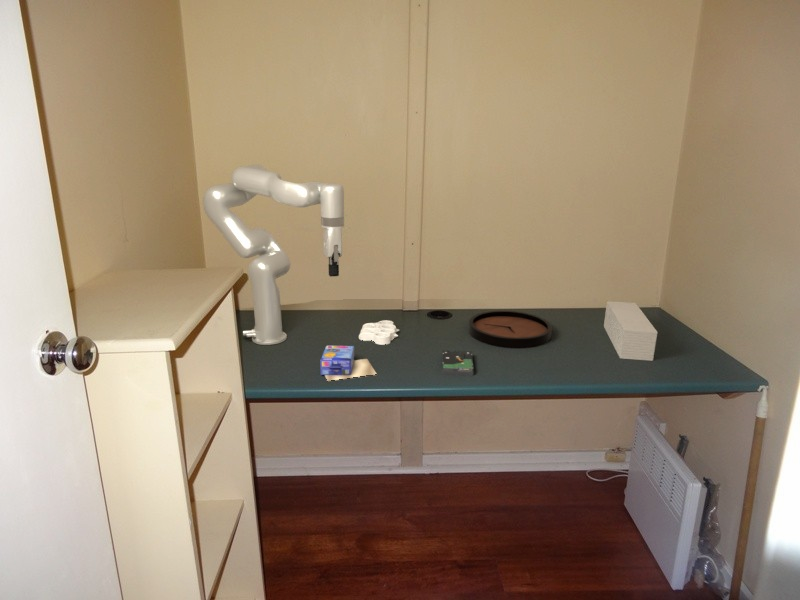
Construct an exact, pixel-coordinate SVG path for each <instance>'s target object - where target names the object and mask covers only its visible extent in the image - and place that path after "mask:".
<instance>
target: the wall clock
mask: <svg viewBox="0 0 800 600" xmlns="http://www.w3.org/2000/svg"><path fill="white" fill-rule="evenodd" d="M552 331H553V327H552V324H551V323H550V322H549V321H548V320H546V319H545V318H542V317H541V316H538V315H534V314H531V313H529V312H528V313H527V312H523V311H517V310H516V311H514V310H490V311H484V312H480V313H477V314H475V315H473V316H471V317H470V318H469V321H468V334H469V335H470V336H471V337H472V338H473V339H474V340H475V341H478V342H480V343H483V344H485V345H490V346H494V347H498V348H504V349H530V348H531V349H533V348H537V347H541V346H544V345H546V344H547V343H549V342H550V341H551V339H552V333H553V332H552Z"/></svg>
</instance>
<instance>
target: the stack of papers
mask: <svg viewBox="0 0 800 600" xmlns="http://www.w3.org/2000/svg"><path fill="white" fill-rule="evenodd" d="M605 306H606V307H605V313H604V321H603V322H604V323H603V327H604V330H605V332H606V333H607V335H608V337H609V339H610V341H611V343H612V345H613V348H614V349H615V351H616V353H617V355H618V357H619V359H625V360H626V359H627V360H640V361H654V355H655V350H656V345H657V337H658V331H657V329H656V328H655V327H654V325H653V324H652V322H650V320H649V319H648V318H647V316H646V315H645V313H644V312H643V311H642V309H641V308H640V307H639V305H637V303H636V302H625V301H608V300H607V301H606V305H605Z"/></svg>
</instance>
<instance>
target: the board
mask: <svg viewBox="0 0 800 600" xmlns="http://www.w3.org/2000/svg"><path fill="white" fill-rule="evenodd" d="M375 374H377V372H376V370H375V369H374V367H373V366H372V364H371V362H370V361H369V359H368V358H363V359H361V358H360V359H354V362H353V366H352V370H351V375H324V377H325V380H326V379H327V380H326V381H328V382H332V381H331V380H335V381H340V380H339V379H343V380H348V379H347V378H350V379H354V378H353V377H358V378H361V377H360V376H365V377H367V376H366V375H373V376H376V375H375ZM377 375H378V374H377Z"/></svg>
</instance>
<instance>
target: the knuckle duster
mask: <svg viewBox="0 0 800 600" xmlns="http://www.w3.org/2000/svg"><path fill="white" fill-rule="evenodd" d="M397 332H400V329H399V328H397V327H396V325H395V323H394V321H392V320H389V319H388V320H387V319H386V320H385V319H383V320H380V321H378V322H368V323H364V324H362V328H361V329H360V332H359V334H358V339H359V340H360V341H362V340H363V342H367V341H368V342H370V341H371V340H372V341H371V342H373V341H374V342H375V343H374V342H373V343H374V344H376V345H383V346H385V344H386V345H389V344H391V341H394V340H395V339H396V338H397V337H399V335H398V334H397ZM394 338H395V339H394ZM393 339H394V340H393Z"/></svg>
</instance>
